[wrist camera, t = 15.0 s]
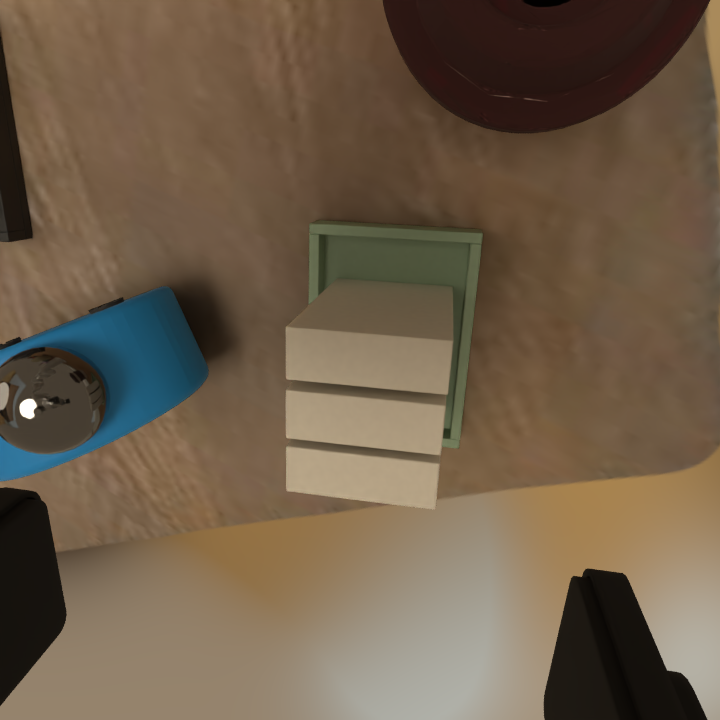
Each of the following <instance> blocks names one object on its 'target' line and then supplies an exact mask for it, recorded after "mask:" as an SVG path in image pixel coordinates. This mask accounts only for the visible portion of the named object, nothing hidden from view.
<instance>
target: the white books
mask: <svg viewBox="0 0 720 720" xmlns="http://www.w3.org/2000/svg"><path fill="white" fill-rule="evenodd" d="M445 411H446V395H443V394H433V393H423V392H412V391H402V390H392V389H381V388H371V387H361V386H351V385H340V384H330V383H320V382H309V381H299V380H293V381H292V383H291V384H290V385H289V386H288V388H287V389H286V438H290V439H291V440H290V441H289V443H288V445H287V446H286V490H287V491H289V492H297V493H305V494H313V495H321V496H329V497H337V498H345V499H353V500H361V501H369V502H377V503H385V504H393V505H401V506H409V507H417V508H425V509H433V510H434V509H435V508H436V500H437V490H438V480H439V470H440V455H441V450H442V441H443V431H444V421H445Z"/></svg>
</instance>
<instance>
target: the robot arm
mask: <svg viewBox="0 0 720 720" xmlns="http://www.w3.org/2000/svg"><path fill="white" fill-rule="evenodd" d="M65 621H66V607H65V602H64V596H63V591H62V585H61V580H60V575H59V569H58V564H57V558H56V553H55V548H54V542H53V537H52V531H51V526H50V521H49V515H48V510H47V506H46V504H45V503H44V502H43V501H41V498H40V496H39V495H38V494H37V493H36V492H34V491H29V490H21V489H14V488H7V487H5V488H0V706H1V704H2V703H3V702H4V701H5V699H6V698H7V697H8V696H9V695H10V693H11V692H12V691H13V690H14V688H15V687H16V686H17V685H18V684H19V683H20V681H21V680H22V679H23V678H24V676H25V675H26V674H27V673H28V672H29V670H30V669H31V668H32V667H33V665H34V664H35V663H36V662H37V661H38V659H39V658H40V657H41V656H42V655H43V653H44V652H45V651H46V650H47V649H48V647H49V646H50V645H51V643H52V642H53V641H54V640H55V639H56V638H57V636H58V635H59V634H60V632H61V631H62V629H63V627H64V624H65ZM544 718H545V720H707V718H706V716H705V713H704V711H703V709H702V707H701V705H700V703H699V700H698V698H697V696H696V694H695V692H694V690H693V688H692V686H691V685H690V683H689V681H688V679H687V678H686V677H685V676H684V675H683V674H681V673H678V672H673V671H667V669H666V667H665V665H664V663H663V660H662V658H661V655H660V653H659V651H658V648H657V646H656V644H655V641H654V639H653V637H652V634H651V632H650V630H649V627H648V625H647V623H646V620H645V618H644V616H643V613H642V611H641V609H640V606H639V604H638V601H637V599H636V597H635V594H634V592H633V590H632V587H631V585H630V583H629V580H628V579H627V577H626V575H624V574H623V573H617V572H609V571H602V570H595V569H586V570H585V571H584V572H583V576H582V577H577V576H573V577H572V578H571V581H570V585H569V589H568V593H567V598H566V602H565V606H564V611H563V616H562V620H561V624H560V628H559V633H558V637H557V642H556V646H555V650H554V655H553V659H552V663H551V668H550V672H549V677H548V681H547V685H546V690H545V695H544Z"/></svg>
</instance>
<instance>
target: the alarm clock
mask: <svg viewBox="0 0 720 720" xmlns="http://www.w3.org/2000/svg"><path fill="white" fill-rule="evenodd" d="M89 312H90V314H88V315H85V316H82V317H80V318H77V319H75V320H72V321H69V322H67V323H64V324H62V325H59V326H56V327H54V328H51V329H49V330H46V331H44V332H41V333H38V334H36V335H33V336H31V337H28V338H26V339H23V340H21V338H20V337H18V338H16V339H13V340H10V341H8V342H6V344H0V481H7V480H13V479H17V478H21V477H25V476H29V475H32V474H35V473H38V472H41V471H44V470H47V469H50V468H52V467H55V466H58V465H60V464H63V463H65V462H68V461H70V460H73V459H75V458H78V457H80V456H82V455H85V454H87V453H89V452H91V451H93V450H96V449H98V448H100V447H102V446H104V445H106V444H108V443H111V442H113V441H115V440H117V439H119V438H121V437H123V436H125V435H127V434H128V433H130V432H132V431H134V430H136V429H138V428H140V427H142V426H143V425H145V424H147V423H149V422H151V421H152V420H154V419H156V418H157V417H159V416H161V415H162V414H164V413H166V412H167V411H169V410H170V409H172V408H174V407H175V406H177V405H178V404H179V403H181V402H182V401H184V400H185V399H186V398H188V397H189V396H190V395H192V394H193V393H194V392H195V391H196V390H197V389H199V388H200V386H201V385H202V384H203V383H204V381H205V380H206V379H207V376H208V372H209V369H208V366H207V364H206V361H205V359H204V357H203V355H202V353H201V351H200V349H199V346H198V344H197V342H196V340H195V338H194V336H193V333H192V331H191V329H190V327H189V325H188V323H187V321H186V318H185V316H184V314H183V312H182V310H181V308H180V306H179V303H178V301H177V299H176V297H175V295H174V293H173V291H172V289H171V288H169V287H166V286H163V287H159V288H156V289H153V290H151V291H148V292H145V293H143V294H140V295H137V296H135V297H132V298H129V299H127V300H123V297H122V298H119V299H117V300H114V301H112V302H109V303H107V304H104V305H101V306H99V307H96V308H93V309H91V310H89Z"/></svg>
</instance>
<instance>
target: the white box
mask: <svg viewBox="0 0 720 720" xmlns="http://www.w3.org/2000/svg"><path fill="white" fill-rule="evenodd" d="M452 350H453V287H452V286H440V285H426V284H411V283H397V282H383V281H369V280H355V279H340V278H337V279H336V280H335V281H334V282H333V283H332V284H330V285H329V286H328V287H327V288H326V289H325V290H324V291H323V292H322V293H321V294H320V295H319V296H318V297H317V298H316V299H315V300H314V301H313V302H312V303H310V304H309V305H308V306H307V307H306V308H305V309H304V310H303V311H302V312H301V313H300V314H299V315H298V316H297V317H296V318H295V319H294V320H293V321H291V322H290V323H289V324H288V325H287V326H286V379H289V380H299V381H309V382H320V383H330V384H340V385H351V386H361V387H371V388H381V389H392V390H402V391H412V392H423V393H433V394H443V395H448V389H449V380H450V370H451V360H452Z"/></svg>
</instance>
